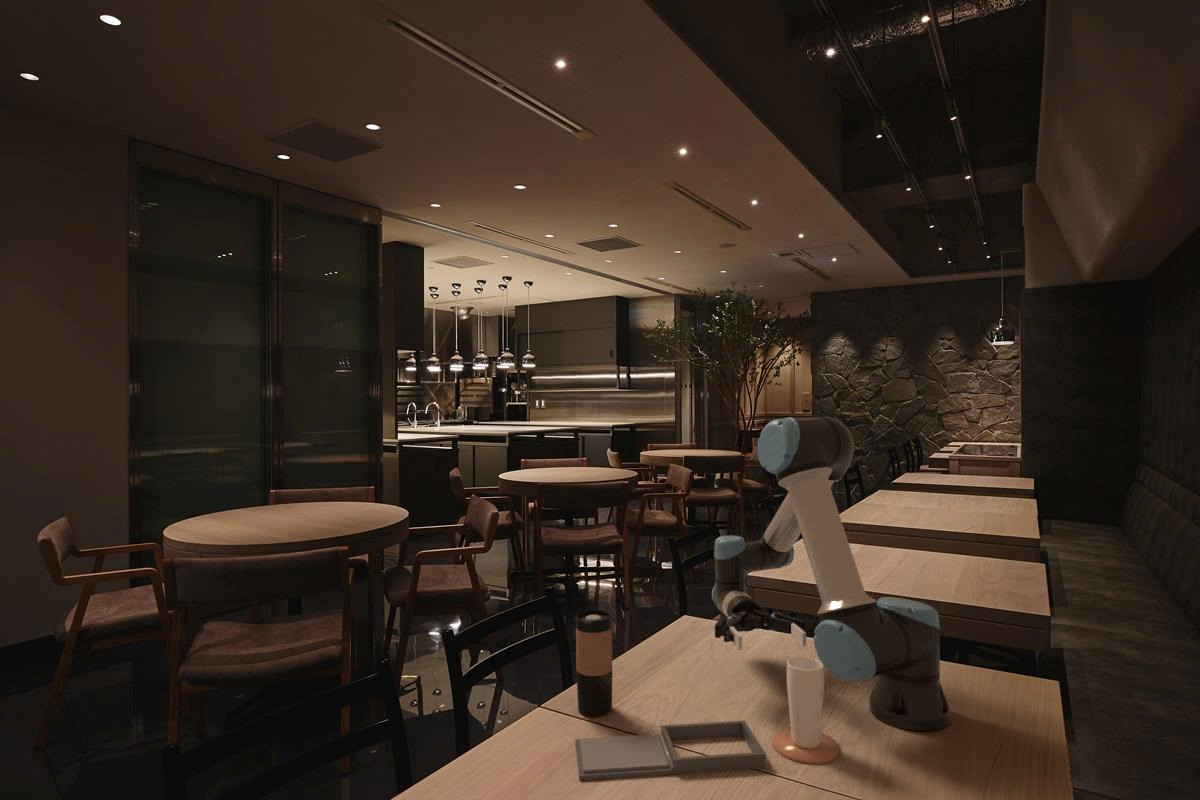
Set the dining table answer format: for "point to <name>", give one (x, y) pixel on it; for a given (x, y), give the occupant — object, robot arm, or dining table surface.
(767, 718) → the dining table surface
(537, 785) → the dining table surface
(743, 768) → the open case
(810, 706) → the drinking glass
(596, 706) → the travel mug
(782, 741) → the coaster
